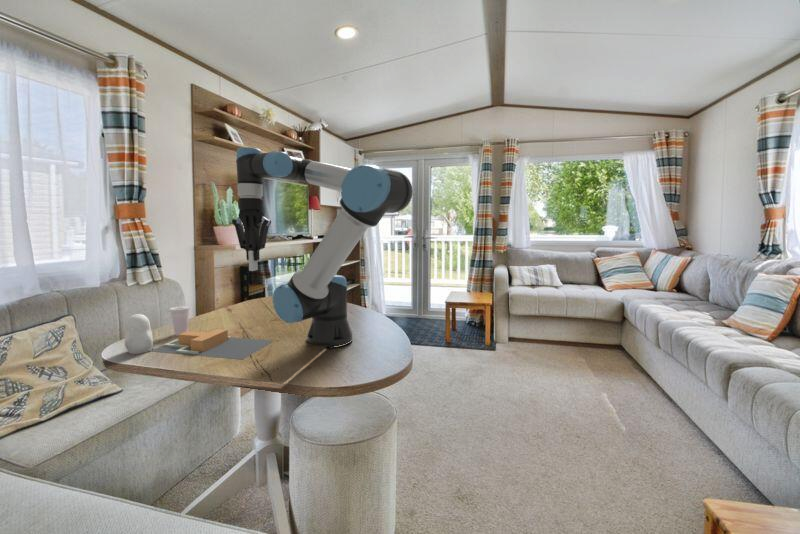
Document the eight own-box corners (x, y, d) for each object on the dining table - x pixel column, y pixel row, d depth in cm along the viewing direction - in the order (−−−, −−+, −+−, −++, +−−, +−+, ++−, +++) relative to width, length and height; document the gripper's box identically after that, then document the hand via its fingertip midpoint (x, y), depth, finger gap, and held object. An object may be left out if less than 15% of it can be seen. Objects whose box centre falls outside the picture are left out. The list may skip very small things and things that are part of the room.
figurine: (124, 356, 114) (120, 317, 112) (128, 349, 120) (125, 312, 119) (152, 353, 117) (149, 315, 115) (154, 345, 124) (152, 309, 122)
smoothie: (182, 337, 133) (179, 298, 131) (166, 336, 134) (163, 297, 132) (195, 332, 139) (193, 294, 137) (180, 331, 140) (177, 293, 138)
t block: (228, 340, 127) (227, 329, 126) (202, 352, 115) (202, 340, 115) (196, 337, 129) (196, 327, 129) (168, 349, 117) (168, 338, 117)
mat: (275, 343, 127) (275, 340, 127) (242, 362, 109) (242, 359, 109) (191, 337, 133) (191, 334, 133) (148, 354, 116) (148, 351, 115)
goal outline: (231, 338, 129) (230, 336, 129) (197, 354, 113) (197, 352, 113) (191, 335, 132) (191, 333, 132) (153, 350, 116) (153, 348, 116)
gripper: (275, 198, 125) (277, 269, 128) (239, 198, 127) (242, 268, 130) (262, 197, 118) (265, 272, 120) (225, 197, 120) (228, 271, 123)
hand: (253, 270), depth 125 cm, fingers closed
